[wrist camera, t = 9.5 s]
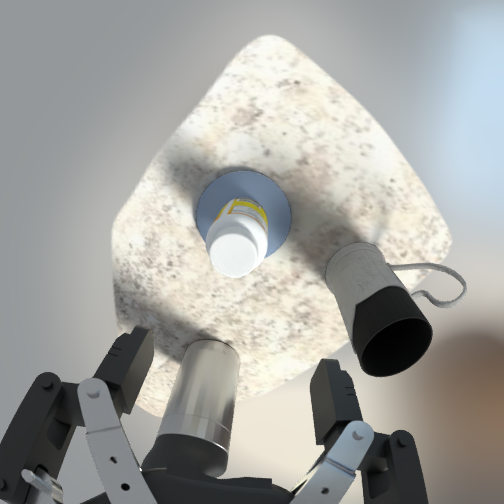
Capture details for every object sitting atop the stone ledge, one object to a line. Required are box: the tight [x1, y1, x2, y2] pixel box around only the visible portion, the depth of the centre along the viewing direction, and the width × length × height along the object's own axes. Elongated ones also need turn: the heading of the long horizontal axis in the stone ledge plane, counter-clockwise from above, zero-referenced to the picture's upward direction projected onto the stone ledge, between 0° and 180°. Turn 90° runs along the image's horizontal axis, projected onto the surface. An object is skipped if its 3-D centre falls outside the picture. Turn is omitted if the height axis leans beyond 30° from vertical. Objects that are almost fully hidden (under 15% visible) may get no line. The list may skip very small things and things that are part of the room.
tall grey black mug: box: [325, 242, 467, 377], centre depth 27 cm, size 9×14×15 cm, turn 122°
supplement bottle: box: [206, 197, 268, 277], centre depth 26 cm, size 6×6×10 cm
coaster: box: [196, 171, 291, 258], centre depth 32 cm, size 11×11×1 cm
